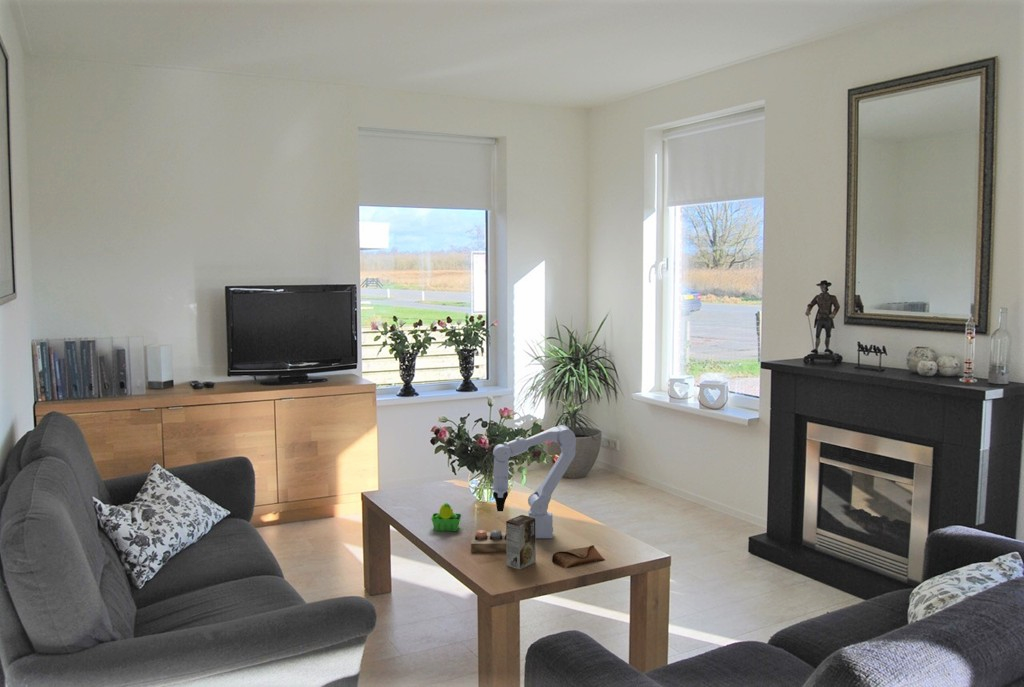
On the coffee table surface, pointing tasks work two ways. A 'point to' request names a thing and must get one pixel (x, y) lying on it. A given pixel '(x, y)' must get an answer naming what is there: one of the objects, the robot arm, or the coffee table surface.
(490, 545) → the wooden tray
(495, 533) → the blue-grey ball
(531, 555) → the coffee box
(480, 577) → the coffee table surface
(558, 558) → the sunglasses case
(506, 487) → the robot arm
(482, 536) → the pink ball
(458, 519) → the fruit basket
